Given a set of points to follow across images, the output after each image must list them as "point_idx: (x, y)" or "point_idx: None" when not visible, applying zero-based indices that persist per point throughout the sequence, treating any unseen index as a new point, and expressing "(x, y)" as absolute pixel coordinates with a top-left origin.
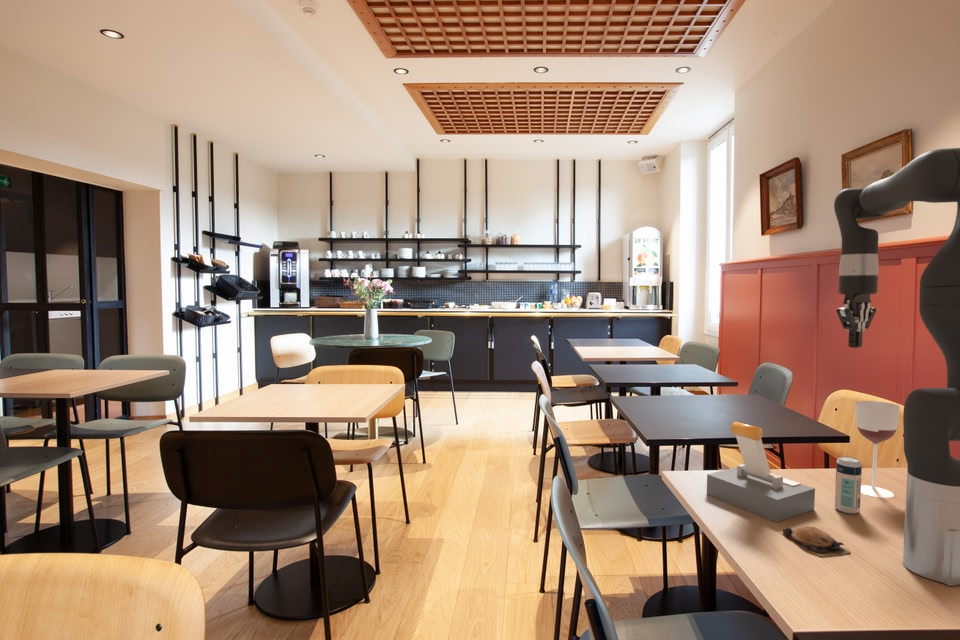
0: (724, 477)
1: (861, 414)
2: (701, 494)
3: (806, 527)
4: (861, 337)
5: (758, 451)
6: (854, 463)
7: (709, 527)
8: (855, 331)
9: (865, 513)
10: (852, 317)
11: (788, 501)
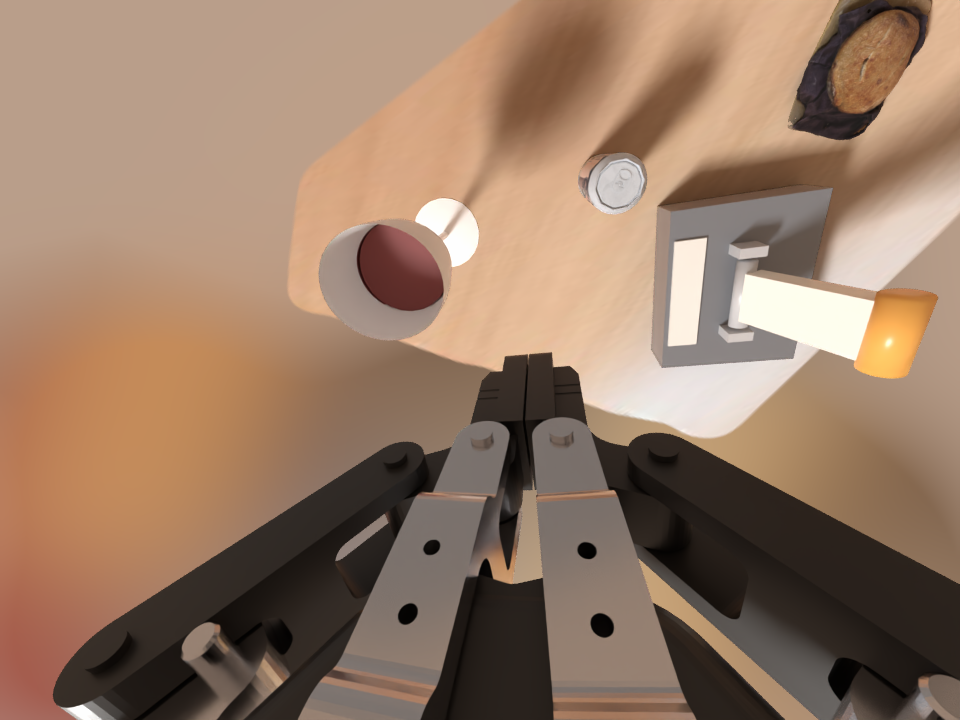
0: None
1: (449, 286)
2: None
3: (884, 76)
4: (512, 390)
5: (845, 286)
6: (632, 160)
7: (956, 214)
8: (593, 436)
9: (578, 153)
10: (834, 573)
11: (777, 194)
